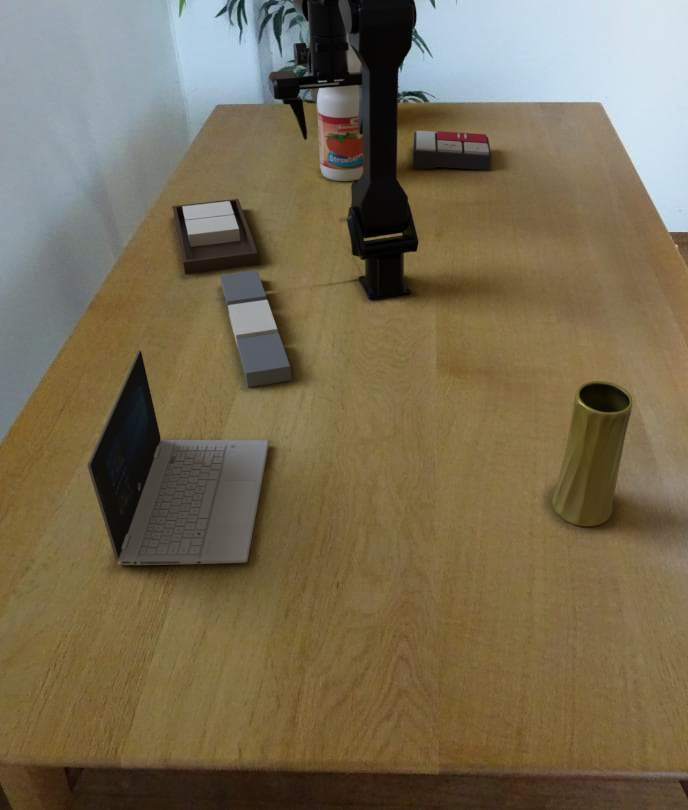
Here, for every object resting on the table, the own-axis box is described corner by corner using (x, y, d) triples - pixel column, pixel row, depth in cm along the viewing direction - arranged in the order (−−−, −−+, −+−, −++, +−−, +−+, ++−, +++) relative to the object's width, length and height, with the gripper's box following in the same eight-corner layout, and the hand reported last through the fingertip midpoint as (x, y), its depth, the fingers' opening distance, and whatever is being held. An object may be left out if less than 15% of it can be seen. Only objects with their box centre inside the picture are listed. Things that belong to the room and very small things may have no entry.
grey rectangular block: (267, 309, 115) (266, 295, 114) (228, 315, 114) (227, 301, 112) (258, 283, 121) (257, 269, 120) (221, 288, 120) (220, 274, 118)
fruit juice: (356, 160, 160) (352, 7, 143) (377, 177, 154) (376, 17, 137) (312, 168, 157) (303, 12, 140) (332, 185, 150) (325, 23, 133)
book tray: (259, 267, 125) (257, 252, 123) (185, 277, 122) (183, 262, 121) (240, 212, 141) (238, 198, 139) (174, 219, 138) (172, 205, 137)
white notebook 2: (235, 226, 135) (234, 214, 134) (240, 241, 131) (239, 228, 130) (187, 232, 133) (185, 220, 132) (190, 247, 129) (188, 234, 128)
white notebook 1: (231, 212, 139) (229, 200, 138) (235, 226, 135) (234, 213, 134) (184, 218, 138) (182, 206, 136) (187, 231, 133) (185, 219, 132)
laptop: (247, 566, 77) (231, 464, 69) (116, 567, 77) (84, 465, 69) (269, 444, 91) (258, 348, 83) (159, 444, 91) (136, 348, 83)
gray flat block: (291, 380, 101) (290, 366, 100) (247, 387, 100) (245, 373, 99) (280, 346, 107) (278, 332, 106) (238, 353, 106) (236, 339, 105)
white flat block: (278, 342, 108) (277, 328, 107) (237, 349, 107) (235, 335, 105) (268, 312, 114) (267, 299, 113) (229, 318, 113) (227, 304, 112)
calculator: (492, 152, 154) (414, 146, 154) (489, 173, 157) (412, 168, 157) (488, 132, 163) (414, 127, 163) (485, 153, 166) (413, 148, 166)
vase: (570, 478, 87) (591, 370, 79) (622, 503, 84) (649, 394, 75) (541, 508, 83) (559, 399, 75) (594, 536, 80) (619, 425, 72)
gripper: (374, 18, 130) (375, 116, 139) (258, 25, 126) (268, 126, 135) (393, 33, 121) (393, 137, 131) (270, 41, 117) (279, 148, 127)
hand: (333, 136), depth 131 cm, fingers open, 9 cm apart
